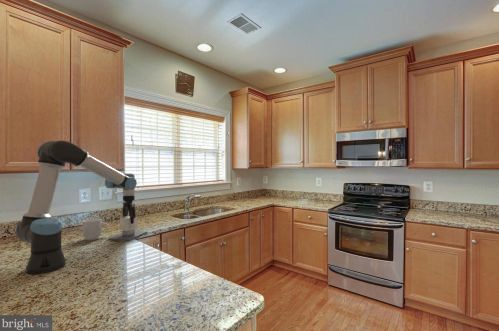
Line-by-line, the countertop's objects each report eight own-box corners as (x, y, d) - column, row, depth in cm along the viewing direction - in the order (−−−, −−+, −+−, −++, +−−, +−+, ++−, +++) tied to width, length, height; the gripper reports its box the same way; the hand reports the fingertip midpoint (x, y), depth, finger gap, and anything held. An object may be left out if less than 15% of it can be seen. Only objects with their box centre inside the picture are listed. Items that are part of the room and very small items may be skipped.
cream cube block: (137, 228, 175) (137, 217, 174) (125, 231, 168) (125, 219, 168) (132, 226, 180) (132, 215, 180) (120, 229, 174) (120, 217, 174)
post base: (129, 241, 163) (129, 225, 163) (108, 239, 166) (108, 224, 166) (147, 233, 182) (147, 219, 182) (128, 231, 185) (128, 218, 185)
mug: (106, 234, 177) (106, 216, 177) (109, 238, 169) (109, 219, 169) (81, 238, 168) (81, 219, 168) (83, 242, 159) (83, 222, 159)
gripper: (141, 195, 170) (140, 228, 170) (127, 193, 184) (127, 223, 184) (129, 196, 164) (129, 230, 164) (117, 194, 178) (117, 225, 178)
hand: (128, 226), depth 174 cm, fingers open, 9 cm apart
